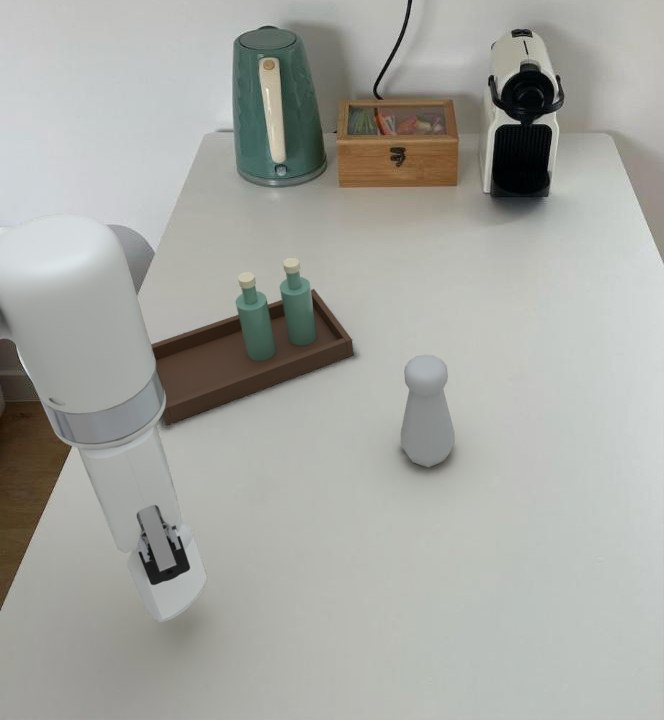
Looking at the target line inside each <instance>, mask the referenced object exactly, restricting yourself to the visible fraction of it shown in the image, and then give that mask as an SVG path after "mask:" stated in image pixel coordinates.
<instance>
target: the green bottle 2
mask: <svg viewBox="0 0 664 720" xmlns="http://www.w3.org/2000/svg"><path fill="white" fill-rule="evenodd" d="M282 266H283V267H282V268H283V271H284V272H285V276H286V279H284V280H282V281H281V283H280V284H279V293H280V298H281V299H280V300H282V304H283V310H284V316H285V322H286V327H287V333H288V339H289V341H290V342H291V343H292V344H294V345H298V346H304V345H308V344H310V343H312V342H314V341H315V339H316V338H317V330H316V323H315V316H314V309H313V302H312V295H311V290H312V289H311V282H310V281H309V280H308V279H307V278H306V277H303V276H301V273H300V271H301V263H300V260H299V259H298V258H297V257H288V258H286V259H284V260H283V261H282Z"/></svg>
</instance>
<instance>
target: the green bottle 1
mask: <svg viewBox="0 0 664 720" xmlns="http://www.w3.org/2000/svg"><path fill="white" fill-rule="evenodd" d="M237 281H238V286H239V287H240V289H241V294H240V295H239V296H237V298H236V300H235V307H236V311H237V315H238V316H239V320H240V325H241V329H242V334H243V338H244V343H245V347H246V352H247V355H248V357H249V358H250V359H252V360H255V361H263V360H267V359H269V358H271V357H272V356H273V355H274V354H275V352H276V345H275V340H274V335H273V329H272V324H271V319H270V314H269V308H268V304H269V303H268V298H267V296H266V294H264V293H263V292H261V291H258V290H257V287H256V284H257V281H256V275H255V274H254V272H252V271H244V272H241V273H240V274H239V275H238V276H237Z"/></svg>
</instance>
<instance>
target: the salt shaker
mask: <svg viewBox="0 0 664 720" xmlns="http://www.w3.org/2000/svg"><path fill="white" fill-rule="evenodd" d="M403 371H404V373H403V374H404V384H405V385H406V387H407V388H408V394H407V399H406V404H405V409H404V414H403V420H402V424H401V428H400V429H401V430H400V445H401V447H402V449H403V450H404V452H405V453H406V455H407V456H408V458H409V459H410V461H411V462H412V463H413V464H416V465H420V466H422V467H426V468H431V467H433V466H435V465H438V464H441V463H443V462H444V461H445V460H446V458H447V457H448V456H449V454H450V453H451V451H452V449H453V447H454V445H455V442H456V438H455V436H456V435H455V429H454V425H453V422H452V417H451V414H450V409H449V405H448V402H447V398H446V393H445V390H444V388H445V386H446V385H447V383H448V379H449V378H448V376H449V373H448V367H447V364H446V363H445V362H444V360H443V359H442V358H440V357H438V356H435V355H433V354H432V355H431V354H421V355H416V356H414V357H413V358H411V359H410V360H408V362H407V363H406V365H405V366H404V370H403Z"/></svg>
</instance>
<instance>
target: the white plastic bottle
mask: <svg viewBox="0 0 664 720" xmlns="http://www.w3.org/2000/svg"><path fill="white" fill-rule="evenodd" d="M164 532H165V535H166V536H168V537H169V535H168V532H167V529H164ZM175 532H176V535H177V536H180V538H181V541H182V544H183V547H184V550H185V553H186V556H187V559H188V562H189V565H190V569H189V570H188V571H187V572H185V573H182V574H180V575H179V576H177V577H176V578H174V579H171V580H169V581H164V582H161V583H159V584H156V585H151V583H150V581H149V578H148V576H147V573H146V571H145V568H144V566H143V563H142V561H141V558H140V556H139V553H138V552H141V550H140V547H139V544H138V546H137V549H135V550H132V551H130V554H129V557H128V559H127V564H126V565H127V569H128V572H129V574H130V577H131V580H132V582H133V584H134V586H135V588H136V591H137V593H138V595H139V598H140V600H141V603H142V605H143V608H144V610H145V611H146V613H147V614H148V615H149V616H150V617H151V618H153V619H154V620H155V621H157V622H160V623H165V622H168V621H170V620H172V619H175V618H176V617H178V616H179V615H181V614H182V613H183V612H185V611H187V609H189V608H190V607H191V606H192V605H193V604H194V603H195V602H196V600H198V598H199V597H200V595H201V594H202V592H203V591H204V589H205V587H206V585H207V582H208V574H207V571H206V568H205V565H204V562H203V558H202V555H201V552H200V549H199V545H198V542H197V540H196V537H195V534H194V532H193V530H192V528H191V527H190V526H188V525H187V524H185V523H184V522H183V523H182V526H181V528H180V530H179V531H178V532H177V530H175ZM144 539H145V541H146V544H148V543H149V541H148V538H147V536H146V537H144ZM147 547H148V545H147Z"/></svg>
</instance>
